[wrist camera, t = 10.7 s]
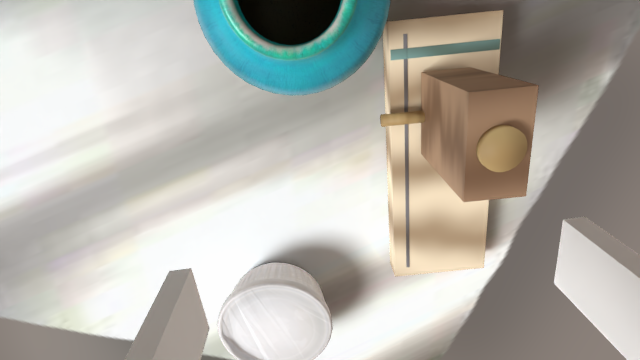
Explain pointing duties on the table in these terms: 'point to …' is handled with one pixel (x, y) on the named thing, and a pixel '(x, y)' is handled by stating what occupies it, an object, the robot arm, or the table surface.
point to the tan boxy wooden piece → (475, 131)
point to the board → (405, 143)
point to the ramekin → (275, 315)
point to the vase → (293, 40)
